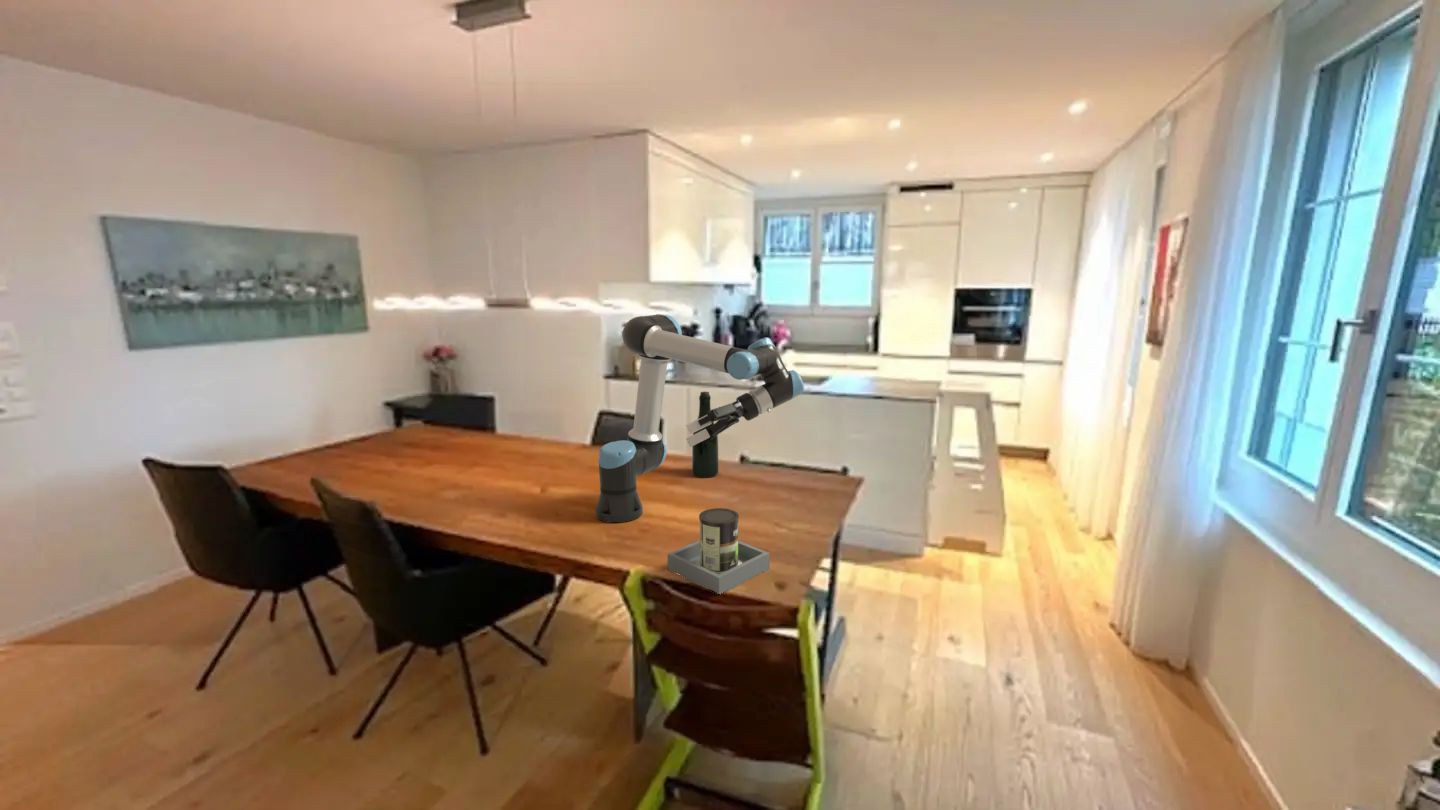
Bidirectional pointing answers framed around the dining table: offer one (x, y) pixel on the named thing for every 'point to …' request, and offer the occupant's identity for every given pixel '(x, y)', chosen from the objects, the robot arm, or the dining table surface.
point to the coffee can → (718, 539)
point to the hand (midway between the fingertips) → (688, 436)
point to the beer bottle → (705, 446)
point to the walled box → (689, 567)
